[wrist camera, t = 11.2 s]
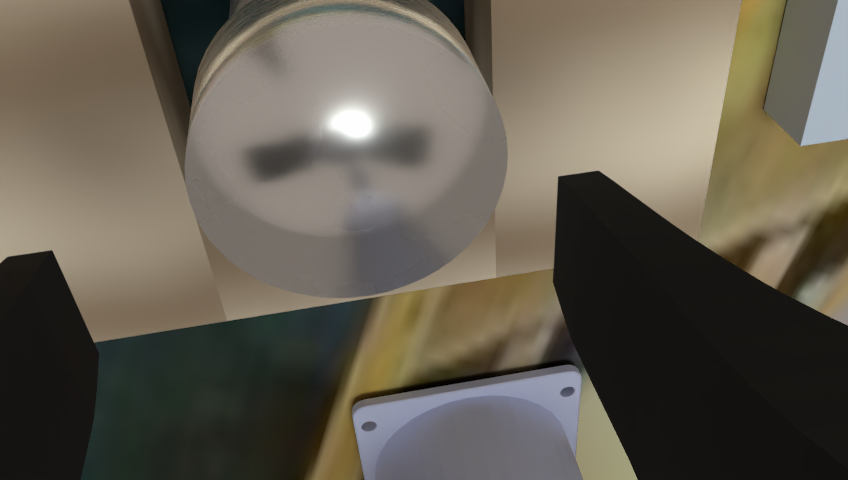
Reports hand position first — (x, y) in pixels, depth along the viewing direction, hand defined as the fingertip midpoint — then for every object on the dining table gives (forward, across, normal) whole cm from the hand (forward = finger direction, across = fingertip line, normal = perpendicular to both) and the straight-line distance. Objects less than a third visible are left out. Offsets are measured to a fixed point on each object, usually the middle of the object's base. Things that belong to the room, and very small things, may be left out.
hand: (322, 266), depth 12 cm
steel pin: (+9, -1, -1) cm, 9 cm away
